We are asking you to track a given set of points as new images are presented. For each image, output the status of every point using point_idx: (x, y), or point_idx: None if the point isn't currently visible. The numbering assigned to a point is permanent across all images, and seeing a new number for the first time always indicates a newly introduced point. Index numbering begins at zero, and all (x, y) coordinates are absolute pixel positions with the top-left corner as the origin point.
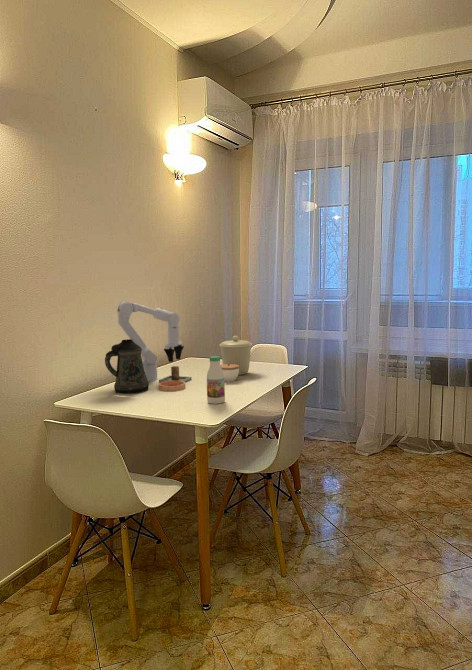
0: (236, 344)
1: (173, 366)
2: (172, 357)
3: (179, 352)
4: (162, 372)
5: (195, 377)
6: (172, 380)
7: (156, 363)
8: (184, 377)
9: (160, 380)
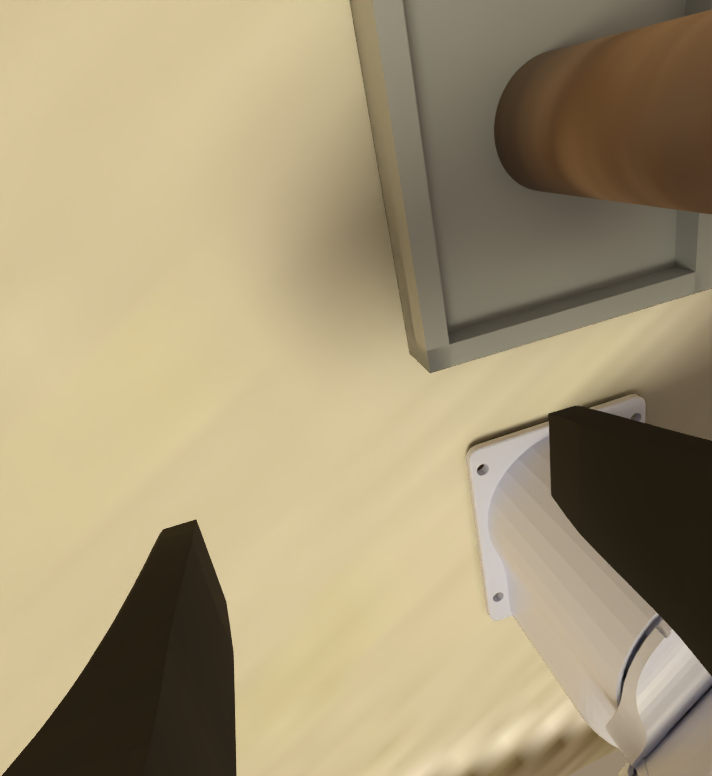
0: None
1: (695, 200)
2: (684, 435)
3: (180, 707)
4: None
5: (45, 53)
6: None
7: (654, 616)
8: (405, 51)
9: (708, 261)
